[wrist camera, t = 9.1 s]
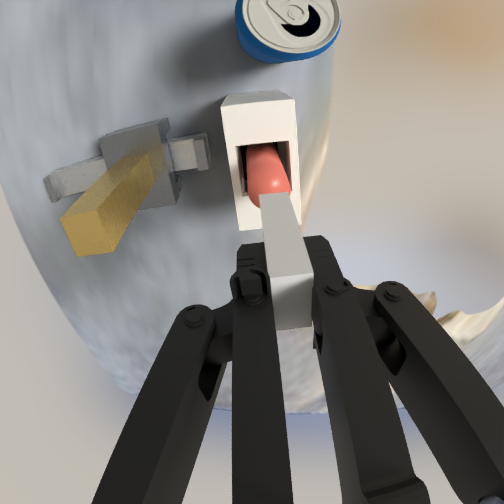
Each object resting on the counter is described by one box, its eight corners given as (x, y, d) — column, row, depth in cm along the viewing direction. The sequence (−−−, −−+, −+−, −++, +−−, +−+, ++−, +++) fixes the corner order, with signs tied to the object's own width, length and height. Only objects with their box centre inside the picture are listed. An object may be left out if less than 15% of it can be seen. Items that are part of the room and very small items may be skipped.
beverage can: (270, 76, 24) (289, 81, 15) (223, 32, 21) (210, 8, 12) (319, 38, 22) (368, 23, 12) (273, -8, 19) (294, -51, 9)
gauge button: (244, 140, 23) (245, 173, 17) (275, 137, 23) (289, 169, 17) (247, 169, 25) (250, 212, 18) (277, 166, 25) (291, 207, 18)
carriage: (114, 129, 26) (30, 188, 14) (167, 116, 26) (104, 165, 14) (132, 196, 31) (76, 286, 19) (183, 187, 31) (146, 280, 18)
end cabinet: (226, 95, 25) (220, 106, 18) (278, 89, 25) (294, 99, 18) (240, 186, 31) (239, 230, 24) (286, 181, 31) (301, 224, 24)
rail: (56, 169, 28) (43, 179, 26) (206, 132, 27) (203, 139, 25) (63, 191, 30) (51, 202, 28) (211, 159, 29) (208, 169, 27)
